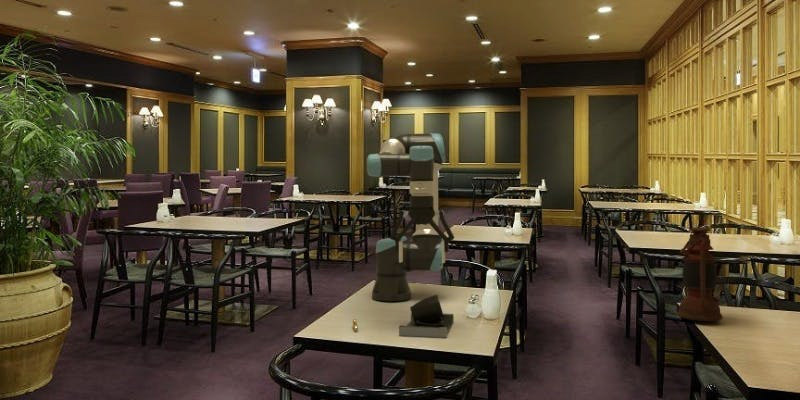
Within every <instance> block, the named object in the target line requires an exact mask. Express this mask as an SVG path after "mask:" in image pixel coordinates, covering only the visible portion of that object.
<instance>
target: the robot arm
mask: <svg viewBox="0 0 800 400" xmlns="http://www.w3.org/2000/svg"><path fill="white" fill-rule="evenodd" d="M445 151H446V150H445V144H444V139H443V136H442V135H441V133H433V132H432V133H431V132H428V133H426V132H425V133H402V134H397V135H394V136H391V137H389V138H387V139H386V140H385V141H384V142H383V143H382V144H381V146H380V150H379V153H371V154H369V155H368V156H367V158H366V170H367V172H366V173H367V175H368V176H370V177H377V178H380V177H409V194H410V197H409V211H408V210H404V209H402V210H400V211H399V215H398V216H399V218H398V220H397V221H396V223H395V225H394V227H393V230H392V231H391V234H390V236H389V237H388V238H382V239H379V240H378V241H377V242H376V245H375V246H376V247H375V248H376V249H375V254H376V255H375V258H376V259H375V260H376V261H375V263H376V264H375V265H376V266H375V268H376V269H375V272H376V275H375V281H374V284H373V287H372V290H371V299H372V300H375V301H380V302H399V301H407V300H409V299H411V298H412V291H411V287H410V284H409V282H408V279H407V278H408V277H407V272H409V271H410V272H411V271H417V272H421V271H422V272H423V271H426V272H427V271H428V272H432V271H435V272H436V271H440V270H442V269H443V267H444V264H445V263H446V253H448V252H449V247H450V246H449V242H450V241H453V240H455V236H454V233H453V232H452V230H451V227H450V226H449V224H448V221H447V220H446V218H445V211H444V210H442V209H440V210H439V171H440V170H441V169H442V167H443V164H445V163H446V153H445ZM407 216H408V217H409V218H410V220H409V221H408V223H407V224H406V225H405V226H404V228H402V231H400V233H399V234H398V231H399V229H400V227H401V225H402V223H403V221H404V219H405V218H407ZM439 220H440V222H441V224H442V226H443V228H444V230H445V232H446V234H447V235H446V234H445V233H444V231H443V230H442V229H441V228H440V227H439ZM414 224H415V232H414V233H413V234H412V236H411V239H408V238H407V236H405V235H406V234H407V232H408V231H409V230H410V229H411V227H413V225H414ZM397 234H398V235H397Z"/></svg>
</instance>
